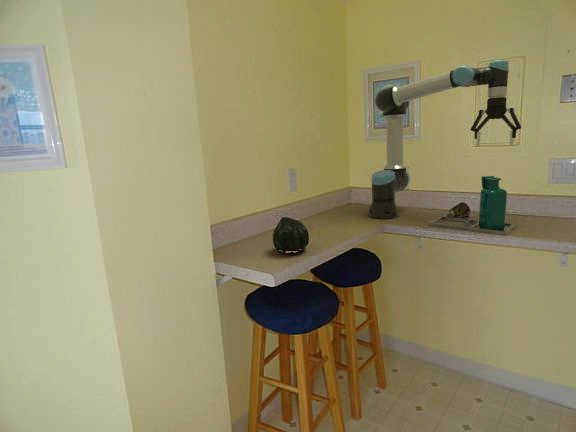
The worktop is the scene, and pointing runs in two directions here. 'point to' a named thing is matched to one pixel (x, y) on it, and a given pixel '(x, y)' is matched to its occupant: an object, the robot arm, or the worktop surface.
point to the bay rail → (473, 228)
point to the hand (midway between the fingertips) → (494, 146)
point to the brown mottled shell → (460, 210)
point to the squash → (290, 235)
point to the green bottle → (492, 204)
